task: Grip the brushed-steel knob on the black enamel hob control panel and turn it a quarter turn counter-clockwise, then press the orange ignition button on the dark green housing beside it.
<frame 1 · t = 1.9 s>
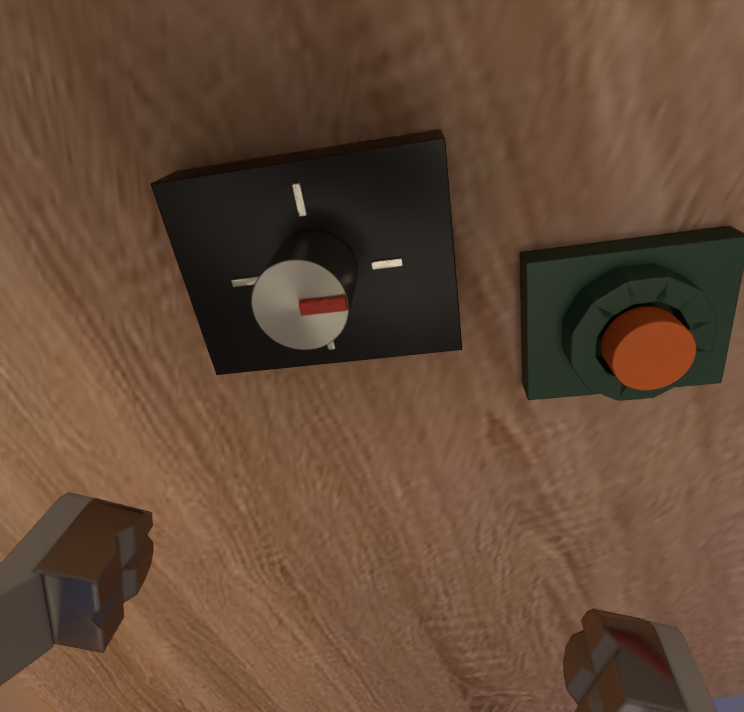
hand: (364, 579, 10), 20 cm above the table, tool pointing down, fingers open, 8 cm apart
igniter: (617, 312, 28), on the table
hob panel: (324, 251, 27), on the table
hob knob: (307, 289, 23), point 5 cm above the table, hinge at 0.0°
ignite button: (646, 348, 24), point 4 cm above the table, slide at 0.2 cm
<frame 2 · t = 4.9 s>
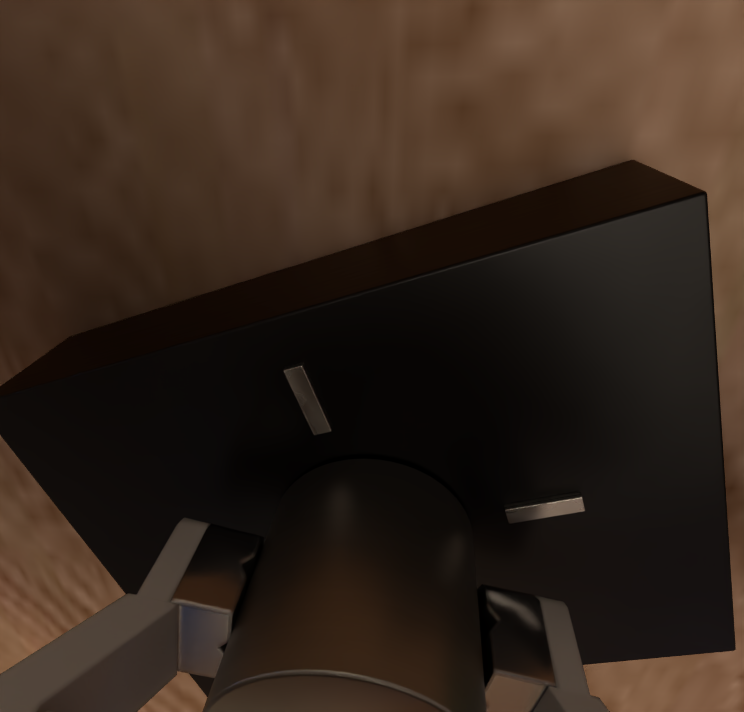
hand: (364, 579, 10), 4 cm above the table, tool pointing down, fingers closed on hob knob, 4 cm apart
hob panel: (385, 442, 13), on the table
hob knob: (358, 634, 9), point 5 cm above the table, hinge at 0.0°, touching gripper
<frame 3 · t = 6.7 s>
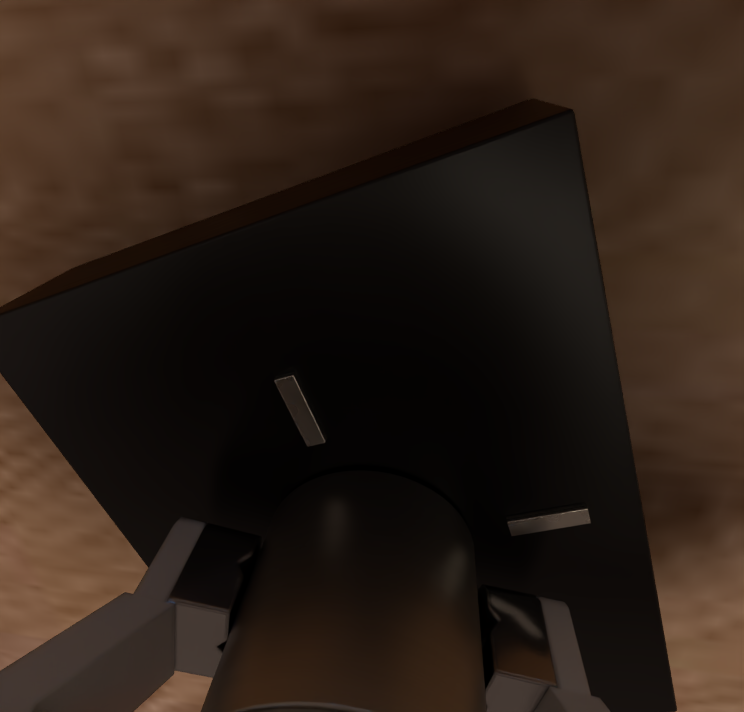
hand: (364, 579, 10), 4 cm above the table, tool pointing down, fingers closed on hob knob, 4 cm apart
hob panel: (384, 450, 13), on the table
hob knob: (355, 655, 8), point 5 cm above the table, hinge at 81.9°, touching gripper
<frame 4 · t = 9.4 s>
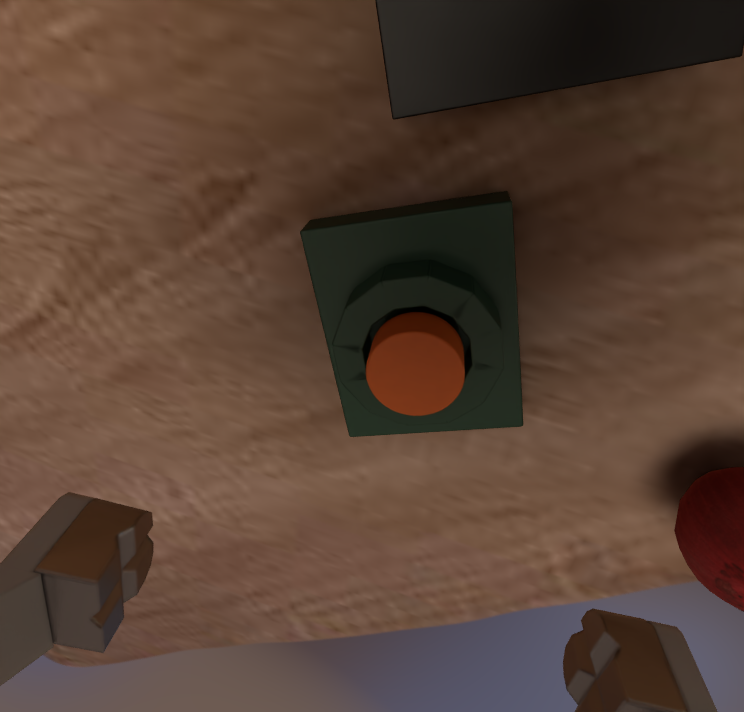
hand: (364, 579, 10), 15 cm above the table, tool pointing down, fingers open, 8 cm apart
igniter: (421, 318, 23), on the table
red oval fruit: (715, 474, 25), on the table
ignite button: (415, 364, 20), point 4 cm above the table, slide at 0.2 cm
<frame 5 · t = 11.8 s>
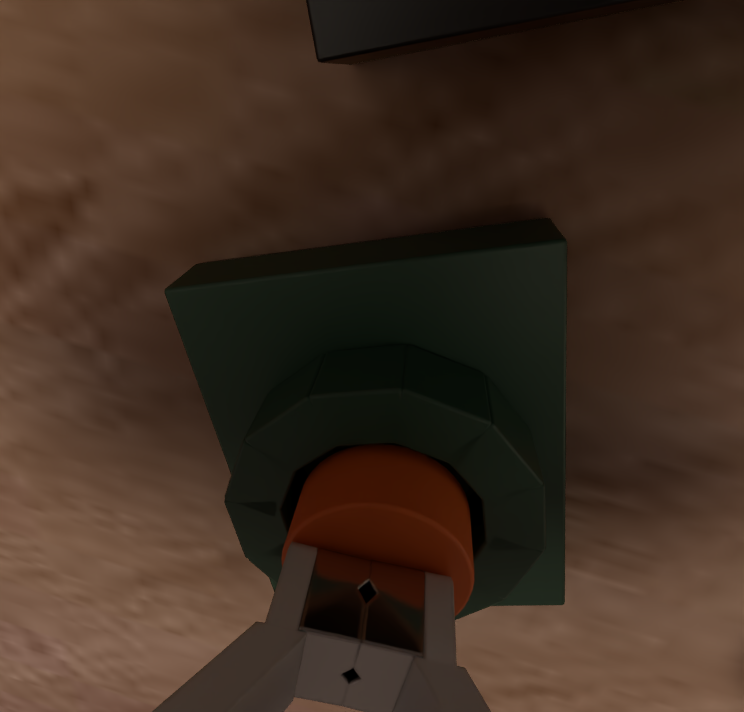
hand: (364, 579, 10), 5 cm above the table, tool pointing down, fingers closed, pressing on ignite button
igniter: (394, 425, 14), on the table
ignite button: (380, 541, 10), point 4 cm above the table, slide at 0.0 cm, touching gripper
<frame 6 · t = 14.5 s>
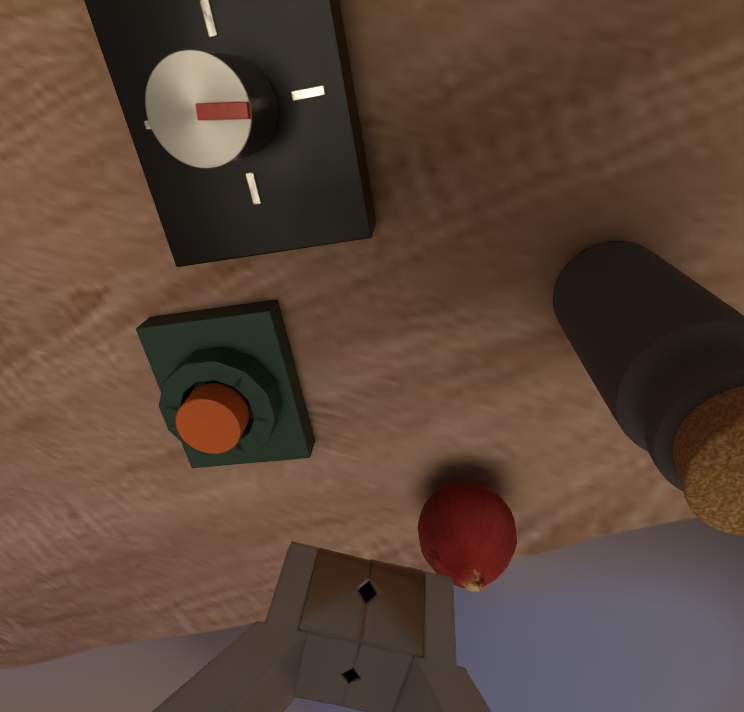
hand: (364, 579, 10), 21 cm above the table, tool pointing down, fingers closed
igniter: (236, 382, 33), on the table
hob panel: (252, 105, 25), on the table
red oval fruit: (461, 488, 35), on the table
bottle: (606, 292, 28), on the table
hob knob: (215, 109, 21), point 5 cm above the table, hinge at 82.0°
ignite button: (213, 418, 29), point 4 cm above the table, slide at 0.1 cm
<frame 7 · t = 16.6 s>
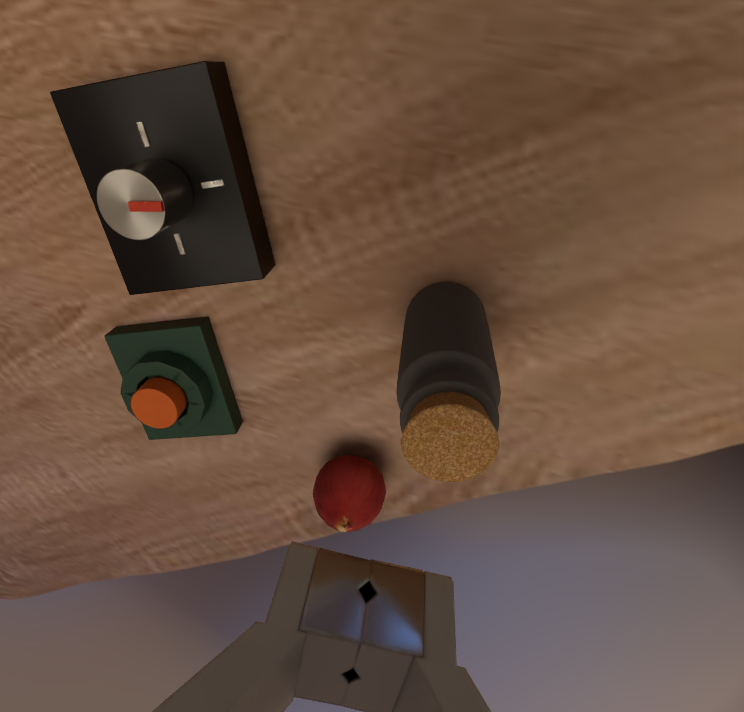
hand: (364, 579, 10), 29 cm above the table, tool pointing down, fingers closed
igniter: (181, 376, 44), on the table
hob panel: (183, 182, 36), on the table
red oval fruit: (355, 460, 46), on the table
bottle: (445, 317, 39), on the table
hob knob: (146, 198, 31), point 5 cm above the table, hinge at 82.0°
ignite button: (159, 402, 40), point 4 cm above the table, slide at 0.1 cm
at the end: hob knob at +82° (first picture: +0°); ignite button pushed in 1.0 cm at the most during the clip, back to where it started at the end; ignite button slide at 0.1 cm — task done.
